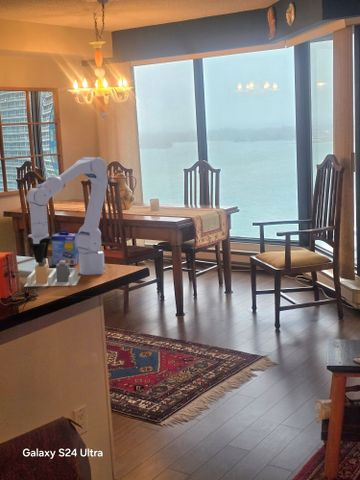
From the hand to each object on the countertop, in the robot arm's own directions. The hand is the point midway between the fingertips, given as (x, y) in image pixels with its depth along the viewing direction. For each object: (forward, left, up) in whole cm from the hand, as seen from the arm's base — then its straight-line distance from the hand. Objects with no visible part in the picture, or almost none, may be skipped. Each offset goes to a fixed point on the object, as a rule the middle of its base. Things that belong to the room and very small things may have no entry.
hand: (41, 260), depth 226 cm
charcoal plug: (-7, -1, -8) cm, 11 cm away
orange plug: (0, 0, -8) cm, 8 cm away
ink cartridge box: (-3, -33, -9) cm, 34 cm away
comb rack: (-4, -1, -9) cm, 10 cm away
